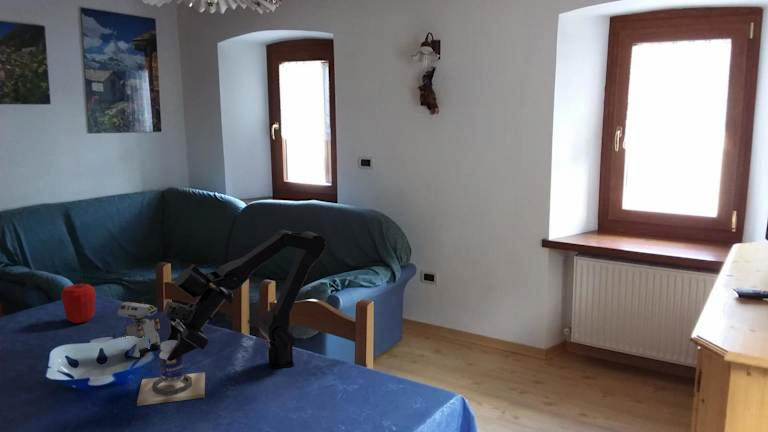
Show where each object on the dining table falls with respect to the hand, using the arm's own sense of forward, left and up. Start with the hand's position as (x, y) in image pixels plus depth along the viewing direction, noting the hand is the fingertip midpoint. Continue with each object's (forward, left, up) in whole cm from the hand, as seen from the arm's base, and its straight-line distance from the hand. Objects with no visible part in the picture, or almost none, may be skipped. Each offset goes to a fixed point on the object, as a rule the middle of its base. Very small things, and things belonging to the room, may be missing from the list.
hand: (165, 356), depth 160 cm
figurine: (+10, -29, -10) cm, 33 cm away
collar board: (-1, 0, -10) cm, 10 cm away
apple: (+32, -62, -10) cm, 71 cm away
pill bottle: (-1, 0, -7) cm, 7 cm away
